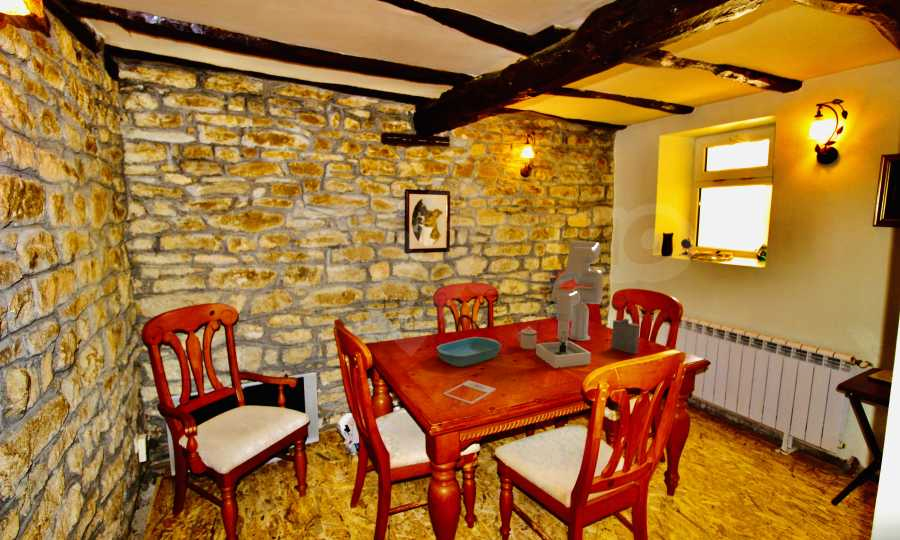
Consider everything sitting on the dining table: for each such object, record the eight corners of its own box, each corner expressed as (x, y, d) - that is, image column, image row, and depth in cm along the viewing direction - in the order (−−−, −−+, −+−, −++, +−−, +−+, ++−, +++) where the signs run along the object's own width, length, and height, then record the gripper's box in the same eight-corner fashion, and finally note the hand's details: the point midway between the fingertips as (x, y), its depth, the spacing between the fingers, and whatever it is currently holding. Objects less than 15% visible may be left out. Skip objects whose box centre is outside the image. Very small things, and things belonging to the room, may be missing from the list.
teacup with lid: (539, 346, 245) (540, 327, 243) (530, 350, 238) (531, 330, 236) (521, 342, 253) (522, 323, 251) (512, 346, 246) (513, 326, 244)
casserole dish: (479, 345, 247) (480, 333, 246) (508, 356, 230) (509, 343, 229) (428, 360, 224) (428, 347, 222) (456, 373, 207) (456, 358, 206)
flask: (635, 354, 232) (637, 322, 230) (610, 348, 243) (611, 317, 240) (638, 353, 235) (640, 321, 232) (613, 346, 245) (614, 316, 242)
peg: (557, 355, 226) (557, 337, 225) (563, 354, 227) (564, 336, 226) (561, 358, 222) (561, 339, 221) (568, 357, 223) (568, 338, 222)
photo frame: (495, 388, 187) (471, 402, 174) (495, 390, 188) (471, 405, 174) (468, 379, 196) (443, 392, 183) (468, 382, 197) (443, 395, 183)
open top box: (536, 354, 232) (536, 343, 231) (569, 351, 237) (569, 340, 236) (554, 368, 213) (555, 356, 212) (590, 364, 218) (590, 352, 217)
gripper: (556, 312, 231) (555, 345, 233) (556, 320, 214) (555, 355, 217) (571, 313, 229) (569, 346, 231) (572, 321, 213) (570, 356, 215)
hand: (562, 350), depth 224 cm, fingers closed on peg, 3 cm apart
